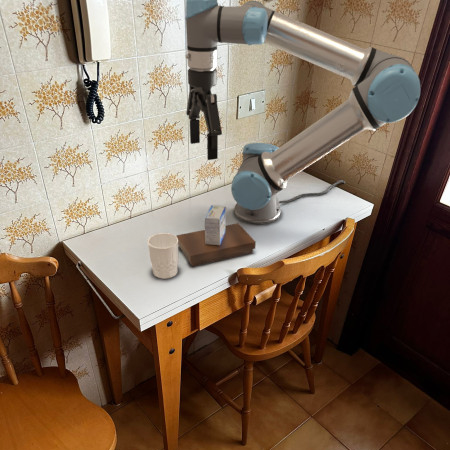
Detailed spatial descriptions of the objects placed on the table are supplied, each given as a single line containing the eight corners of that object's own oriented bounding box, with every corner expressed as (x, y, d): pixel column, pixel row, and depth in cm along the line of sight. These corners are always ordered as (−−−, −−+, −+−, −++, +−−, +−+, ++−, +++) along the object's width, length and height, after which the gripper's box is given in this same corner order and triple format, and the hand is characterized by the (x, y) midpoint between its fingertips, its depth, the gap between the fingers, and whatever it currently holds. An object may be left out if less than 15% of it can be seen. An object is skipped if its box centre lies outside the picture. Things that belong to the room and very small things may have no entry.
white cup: (147, 278, 119) (143, 246, 113) (156, 262, 125) (153, 231, 119) (175, 281, 118) (173, 250, 112) (183, 265, 124) (181, 234, 118)
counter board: (237, 234, 138) (238, 222, 136) (254, 253, 130) (255, 241, 127) (177, 247, 132) (176, 235, 129) (190, 268, 123) (190, 256, 121)
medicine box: (220, 246, 125) (220, 219, 120) (204, 244, 126) (204, 217, 120) (225, 232, 131) (226, 206, 126) (210, 231, 132) (210, 204, 126)
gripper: (172, 59, 121) (176, 138, 134) (206, 80, 103) (207, 168, 116) (198, 58, 123) (200, 135, 136) (236, 77, 105) (233, 164, 118)
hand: (203, 150), depth 126 cm, fingers open, 13 cm apart
